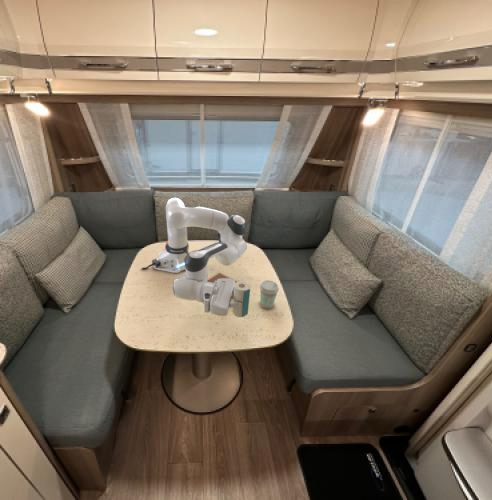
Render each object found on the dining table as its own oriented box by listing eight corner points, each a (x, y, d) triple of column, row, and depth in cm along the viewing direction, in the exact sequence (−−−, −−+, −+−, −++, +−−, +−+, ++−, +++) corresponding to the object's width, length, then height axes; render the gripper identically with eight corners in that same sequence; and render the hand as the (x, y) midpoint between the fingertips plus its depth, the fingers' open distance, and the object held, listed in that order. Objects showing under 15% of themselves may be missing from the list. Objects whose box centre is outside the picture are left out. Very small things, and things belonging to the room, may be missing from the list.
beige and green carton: (229, 311, 113) (231, 284, 106) (240, 305, 116) (242, 279, 109) (239, 319, 108) (241, 292, 101) (250, 313, 111) (253, 286, 104)
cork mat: (202, 285, 144) (202, 284, 143) (219, 274, 152) (219, 273, 152) (228, 300, 133) (228, 299, 132) (245, 287, 142) (245, 286, 141)
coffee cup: (264, 313, 125) (267, 293, 119) (254, 301, 132) (256, 282, 126) (279, 307, 128) (282, 288, 122) (269, 297, 135) (271, 278, 129)
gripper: (215, 284, 122) (245, 288, 118) (203, 315, 104) (238, 321, 101) (215, 272, 118) (246, 277, 115) (203, 303, 101) (239, 309, 98)
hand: (242, 298), depth 108 cm, fingers closed on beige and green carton, 6 cm apart
